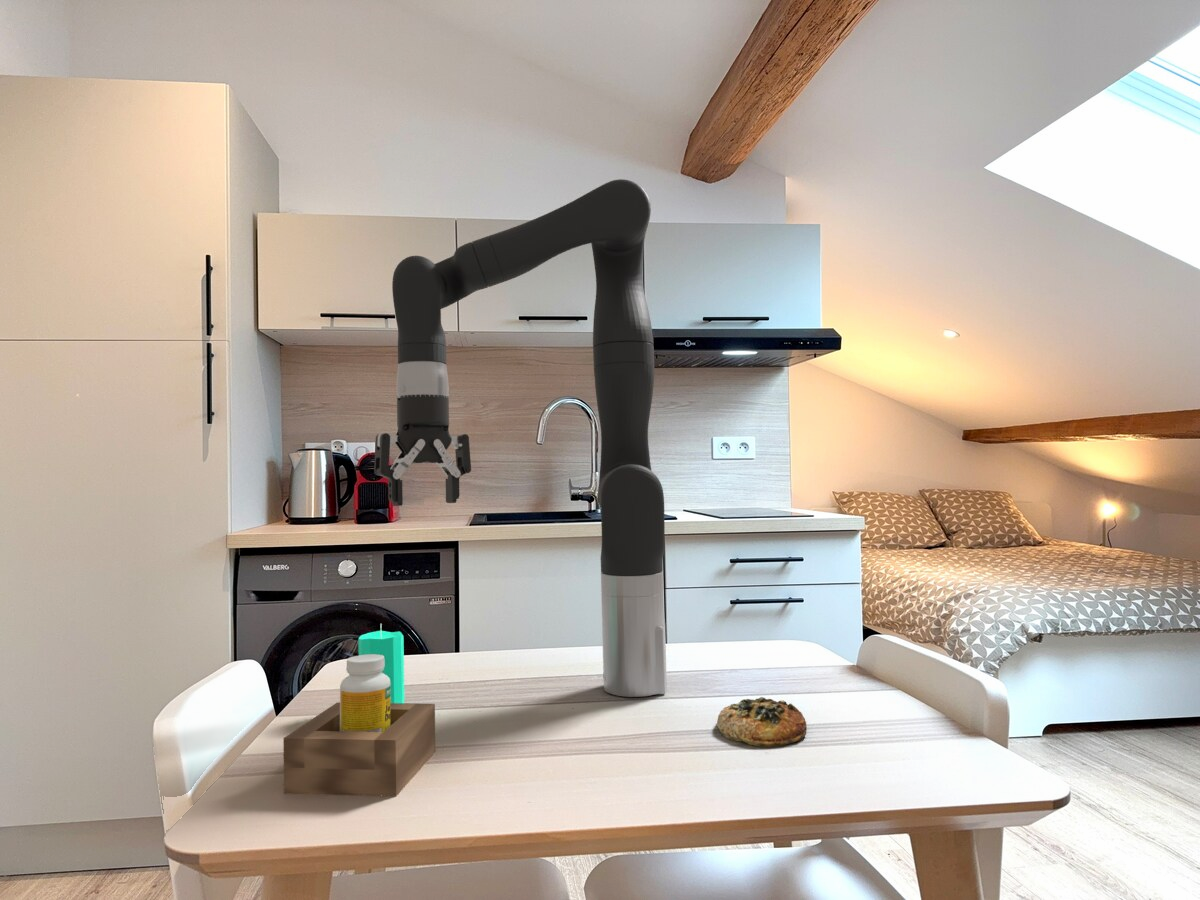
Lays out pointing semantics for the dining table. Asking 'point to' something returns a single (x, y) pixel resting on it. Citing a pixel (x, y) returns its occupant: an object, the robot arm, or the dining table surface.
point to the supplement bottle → (365, 695)
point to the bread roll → (762, 722)
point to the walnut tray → (359, 753)
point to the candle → (387, 657)
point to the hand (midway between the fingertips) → (424, 504)
